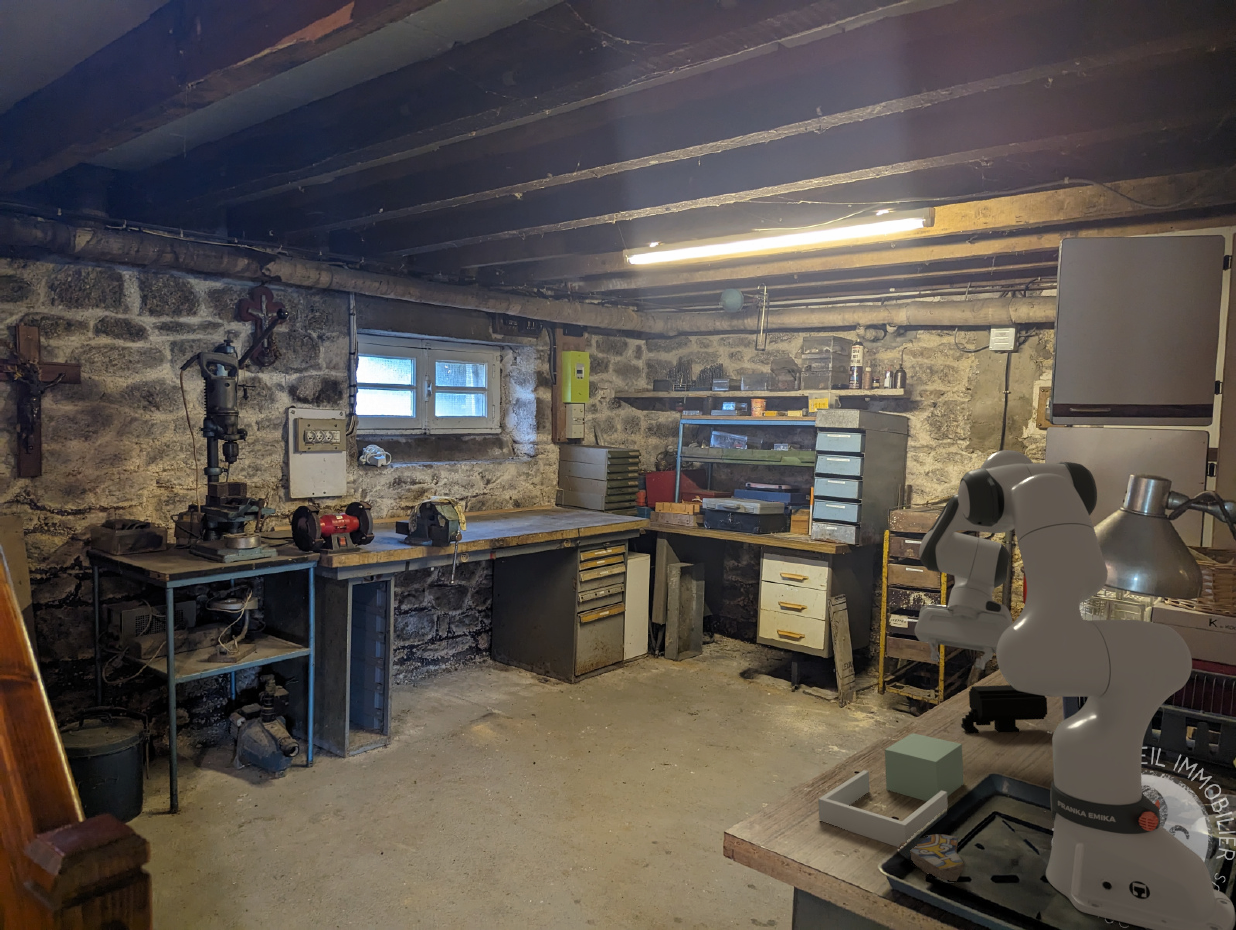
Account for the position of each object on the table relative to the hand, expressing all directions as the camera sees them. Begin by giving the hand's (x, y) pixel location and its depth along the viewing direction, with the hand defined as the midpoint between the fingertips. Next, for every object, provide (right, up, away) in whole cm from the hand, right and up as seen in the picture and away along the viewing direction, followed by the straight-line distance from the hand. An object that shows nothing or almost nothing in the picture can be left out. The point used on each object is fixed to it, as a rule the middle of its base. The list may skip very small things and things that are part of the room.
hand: (956, 664), depth 168 cm
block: (-14, -19, -18) cm, 30 cm away
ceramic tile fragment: (-25, -20, -47) cm, 57 cm away
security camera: (+16, -19, +11) cm, 27 cm away
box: (-26, -20, -30) cm, 45 cm away
